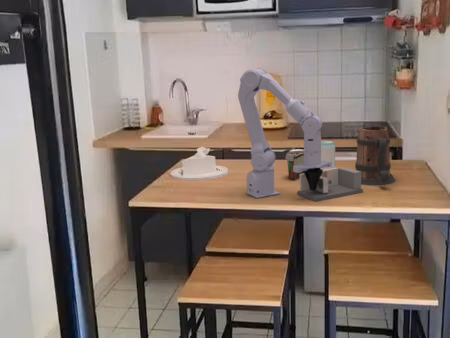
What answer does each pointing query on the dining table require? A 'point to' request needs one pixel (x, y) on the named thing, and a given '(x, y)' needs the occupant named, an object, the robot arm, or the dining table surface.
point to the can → (328, 153)
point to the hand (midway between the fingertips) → (312, 189)
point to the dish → (199, 167)
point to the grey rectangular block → (323, 185)
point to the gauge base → (333, 184)
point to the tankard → (374, 156)
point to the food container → (294, 163)
